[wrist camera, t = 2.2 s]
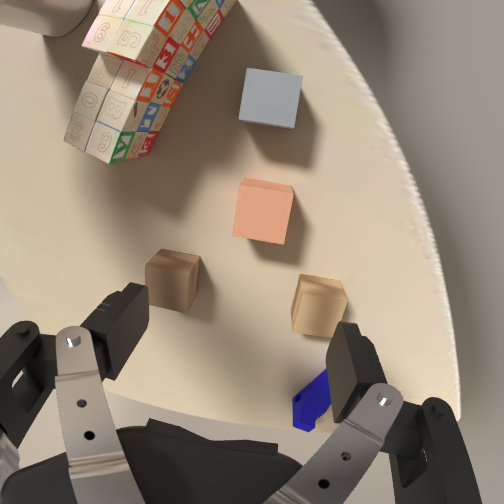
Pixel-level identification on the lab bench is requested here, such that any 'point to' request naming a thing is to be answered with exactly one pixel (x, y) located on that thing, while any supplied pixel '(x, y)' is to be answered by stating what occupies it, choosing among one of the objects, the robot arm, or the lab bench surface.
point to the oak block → (317, 306)
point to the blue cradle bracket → (311, 403)
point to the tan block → (172, 280)
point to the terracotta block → (263, 210)
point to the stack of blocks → (138, 71)
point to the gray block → (270, 98)
